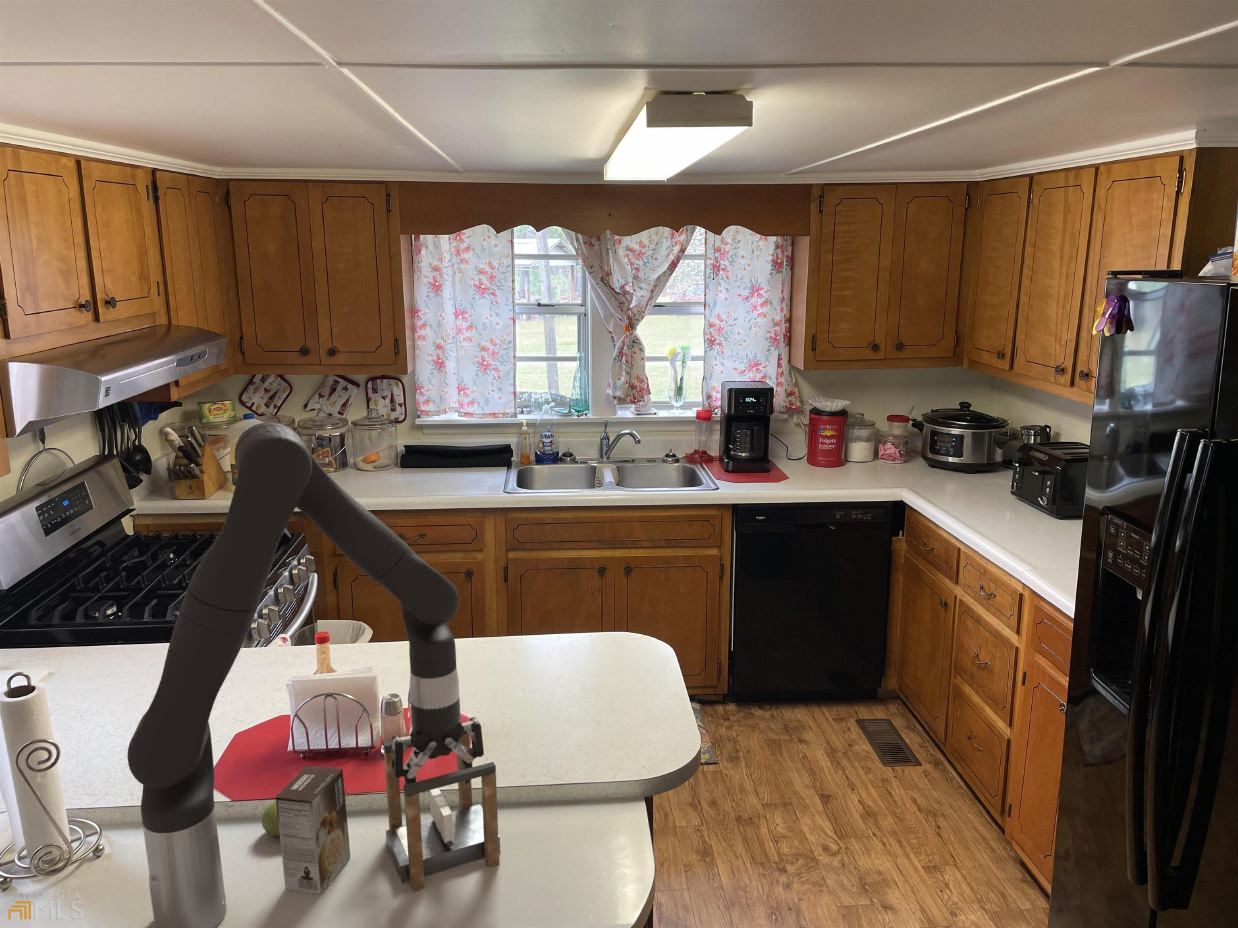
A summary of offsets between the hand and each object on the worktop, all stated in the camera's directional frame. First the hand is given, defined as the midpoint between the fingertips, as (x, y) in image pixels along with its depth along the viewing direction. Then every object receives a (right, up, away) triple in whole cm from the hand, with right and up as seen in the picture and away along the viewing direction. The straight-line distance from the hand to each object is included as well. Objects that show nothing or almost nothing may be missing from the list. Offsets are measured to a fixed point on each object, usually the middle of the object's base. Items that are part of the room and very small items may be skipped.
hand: (439, 788), depth 144 cm
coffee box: (-18, -12, -3) cm, 22 cm away
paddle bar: (0, -8, +2) cm, 8 cm away
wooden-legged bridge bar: (-3, +6, +5) cm, 8 cm away
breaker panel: (0, -11, +2) cm, 11 cm away
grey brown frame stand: (0, -11, +2) cm, 11 cm away
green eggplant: (-26, -10, +7) cm, 29 cm away
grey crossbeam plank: (+3, +3, -7) cm, 8 cm away
